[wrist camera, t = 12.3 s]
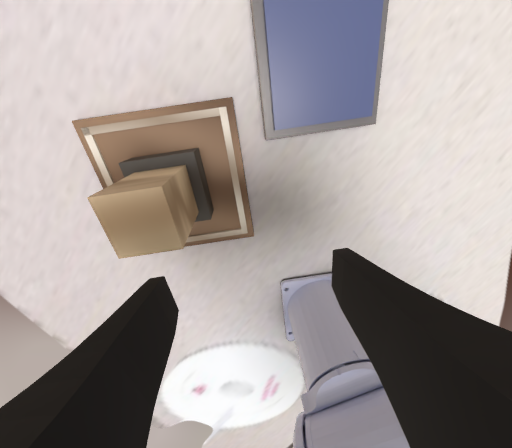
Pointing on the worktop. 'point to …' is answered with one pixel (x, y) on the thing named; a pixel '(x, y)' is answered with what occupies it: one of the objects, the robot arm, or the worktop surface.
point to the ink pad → (318, 63)
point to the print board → (175, 139)
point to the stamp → (154, 203)
